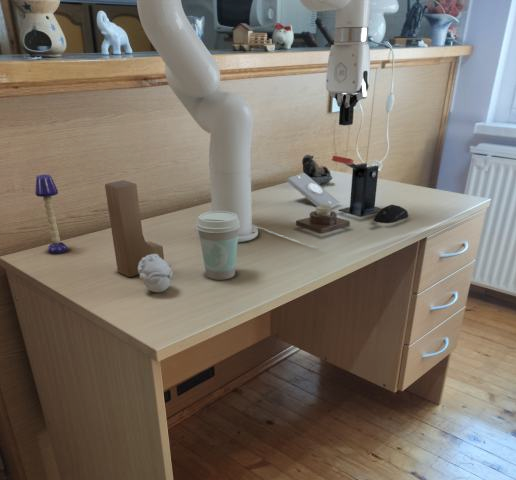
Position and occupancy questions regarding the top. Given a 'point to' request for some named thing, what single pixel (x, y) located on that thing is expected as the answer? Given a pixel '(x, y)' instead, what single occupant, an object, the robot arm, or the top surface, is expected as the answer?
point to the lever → (349, 164)
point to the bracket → (363, 192)
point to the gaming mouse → (391, 214)
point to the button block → (322, 223)
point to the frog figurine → (155, 273)
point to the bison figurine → (316, 170)
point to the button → (323, 210)
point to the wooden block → (128, 227)
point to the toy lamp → (50, 210)
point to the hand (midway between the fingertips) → (345, 124)
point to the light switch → (312, 190)
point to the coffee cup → (219, 243)
